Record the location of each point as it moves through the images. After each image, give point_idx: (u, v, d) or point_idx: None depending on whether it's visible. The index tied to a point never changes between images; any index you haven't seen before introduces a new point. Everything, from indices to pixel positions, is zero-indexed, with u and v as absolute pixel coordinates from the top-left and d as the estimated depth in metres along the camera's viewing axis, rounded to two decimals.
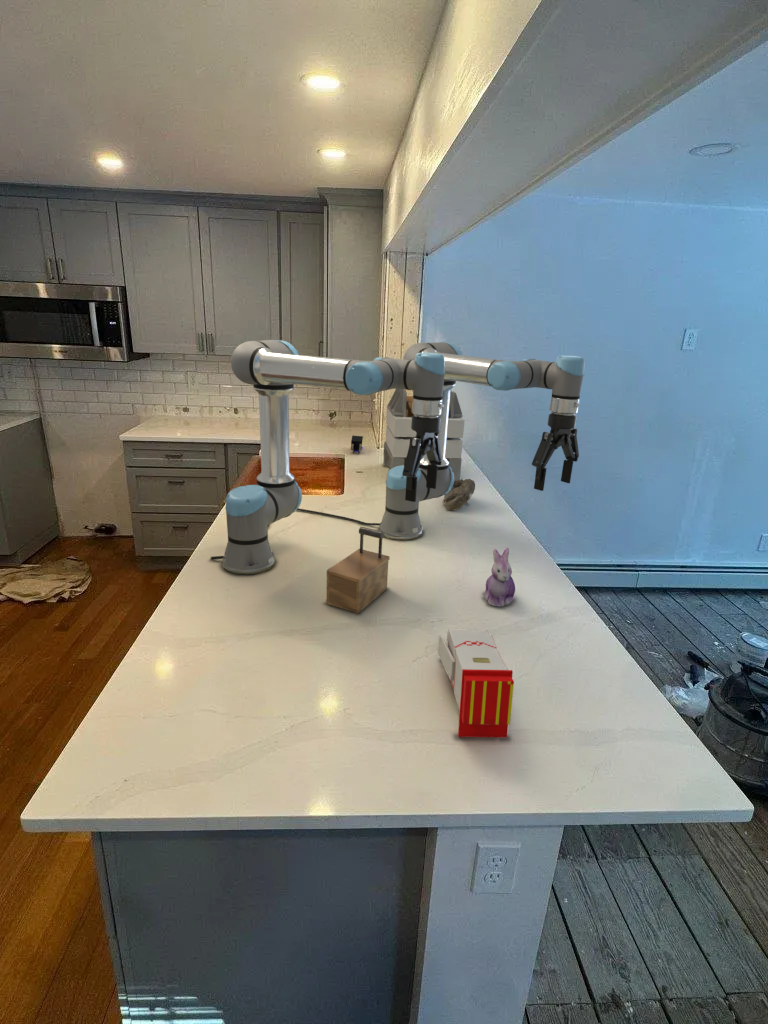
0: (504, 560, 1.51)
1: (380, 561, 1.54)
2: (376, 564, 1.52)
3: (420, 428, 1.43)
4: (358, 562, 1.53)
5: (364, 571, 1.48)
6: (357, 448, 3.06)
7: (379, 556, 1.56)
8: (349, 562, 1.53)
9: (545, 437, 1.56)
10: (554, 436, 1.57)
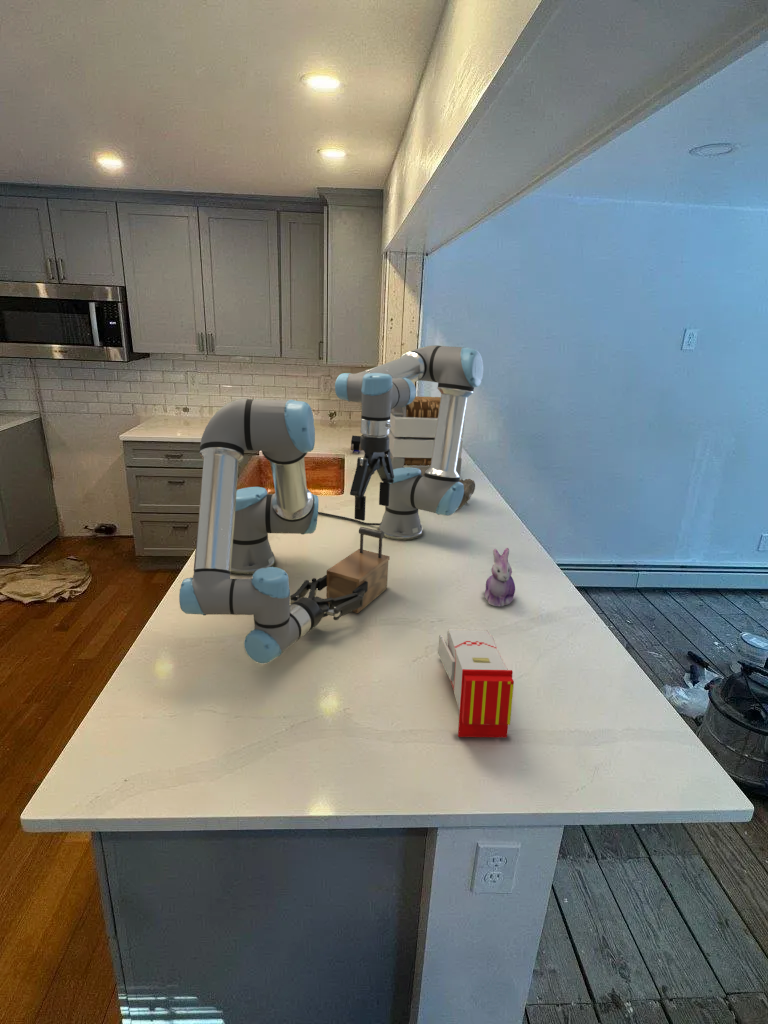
0: (504, 560, 1.51)
1: (380, 561, 1.54)
2: (376, 564, 1.52)
3: None
4: (358, 562, 1.53)
5: (364, 571, 1.48)
6: (357, 448, 3.06)
7: (379, 556, 1.56)
8: (349, 562, 1.53)
9: (360, 463, 1.43)
10: (369, 461, 1.45)
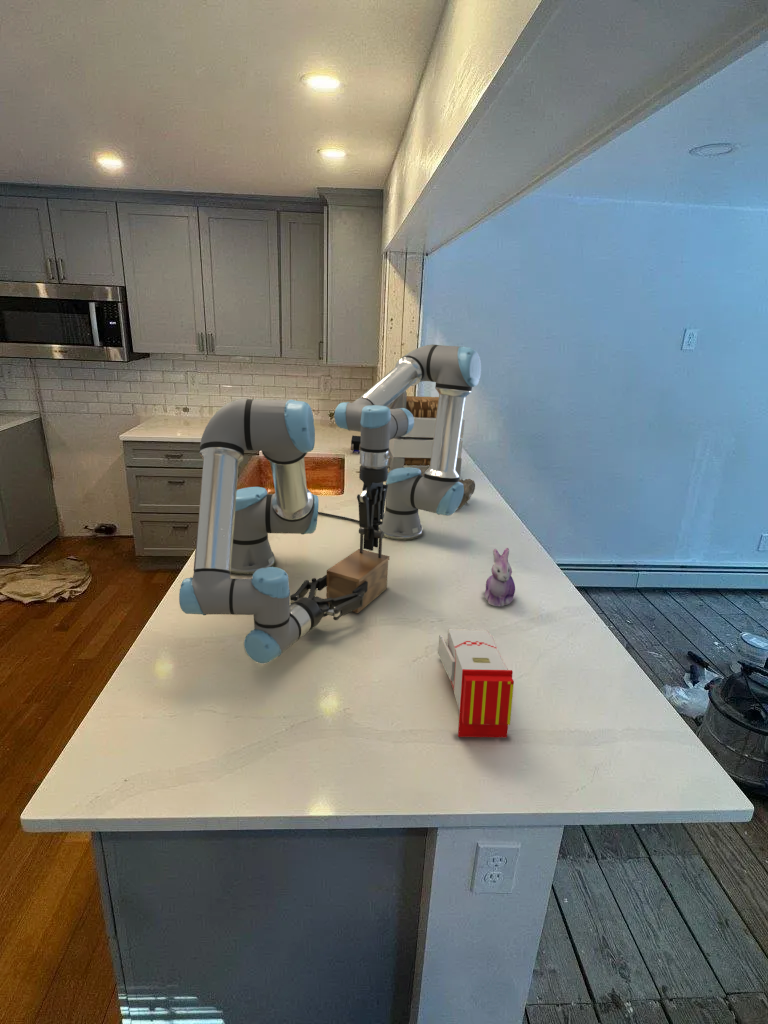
0: (504, 560, 1.51)
1: (380, 561, 1.54)
2: (376, 564, 1.52)
3: None
4: (358, 562, 1.53)
5: (364, 571, 1.48)
6: (357, 448, 3.06)
7: (379, 556, 1.56)
8: (349, 562, 1.53)
9: (361, 501, 1.47)
10: (368, 491, 1.48)
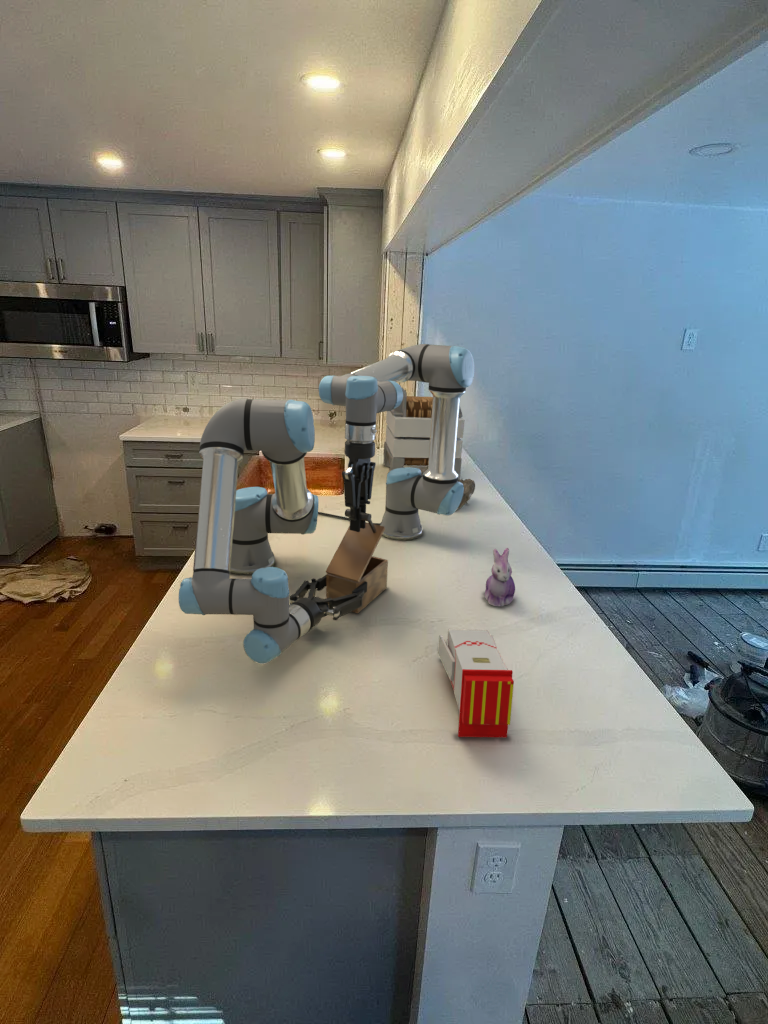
0: (504, 560, 1.51)
1: (375, 539, 1.49)
2: (372, 546, 1.48)
3: None
4: (354, 547, 1.49)
5: (361, 563, 1.46)
6: None
7: (373, 531, 1.50)
8: (346, 549, 1.50)
9: (346, 478, 1.38)
10: (354, 468, 1.38)
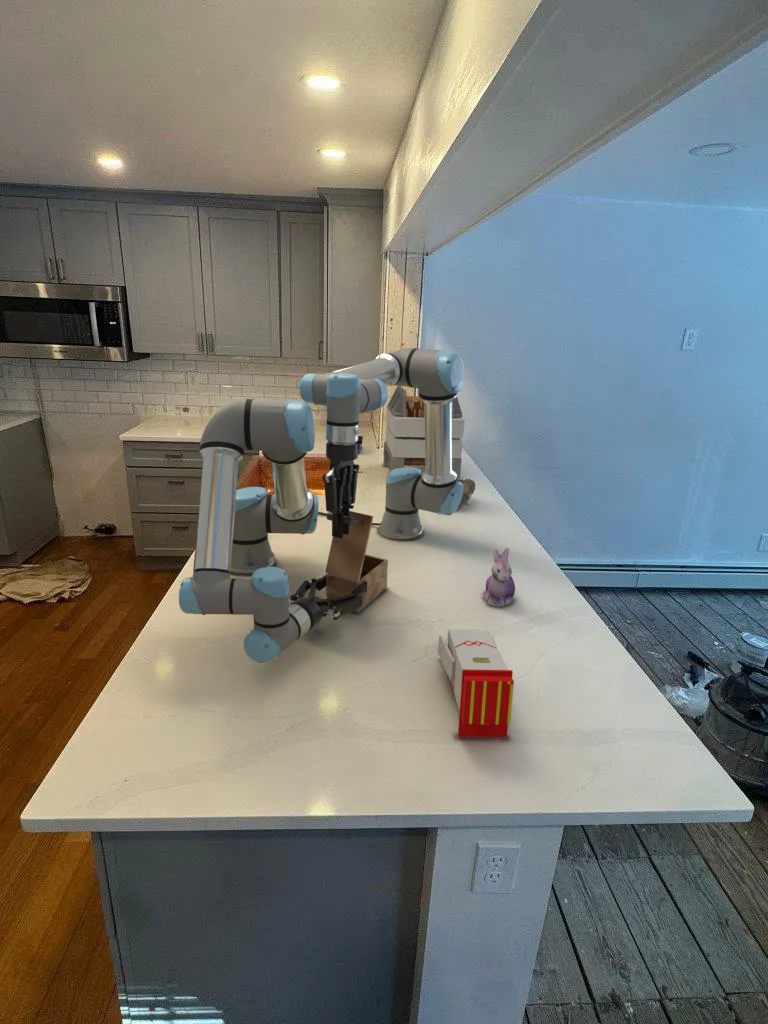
0: (504, 560, 1.51)
1: (366, 532, 1.43)
2: (364, 541, 1.43)
3: None
4: (347, 543, 1.45)
5: (357, 562, 1.44)
6: None
7: (362, 524, 1.43)
8: (339, 546, 1.46)
9: (327, 481, 1.30)
10: (335, 471, 1.31)
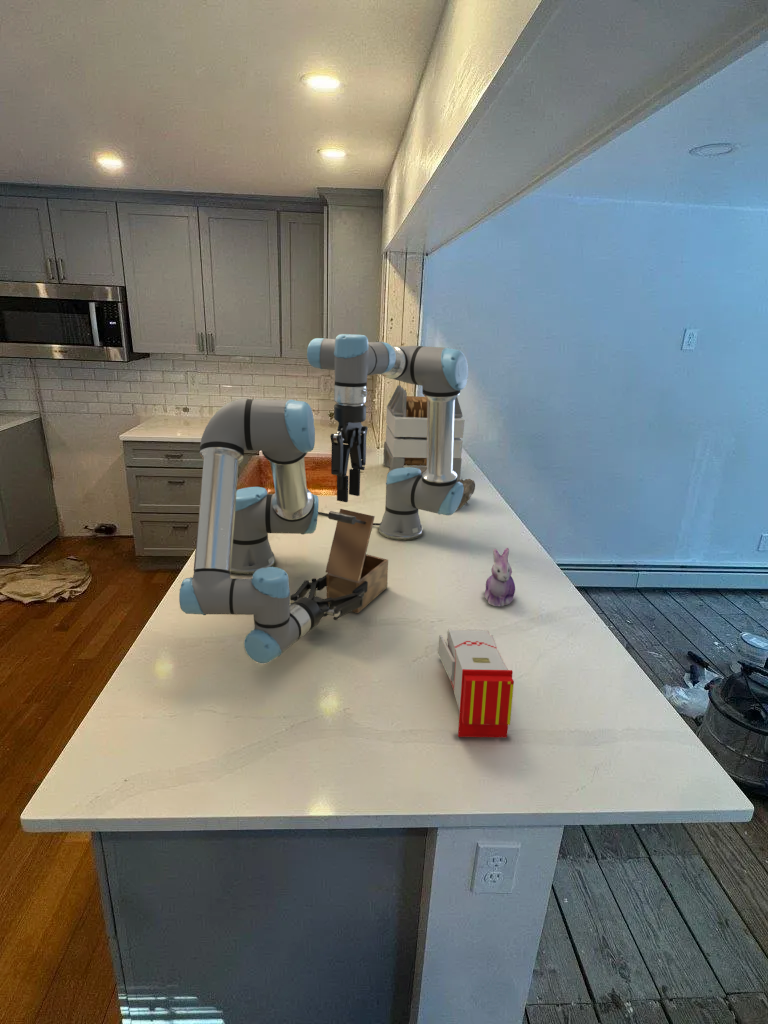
0: (504, 560, 1.51)
1: (367, 532, 1.44)
2: (365, 541, 1.44)
3: None
4: (347, 543, 1.46)
5: (358, 561, 1.44)
6: None
7: (363, 524, 1.44)
8: (340, 546, 1.46)
9: (335, 441, 1.30)
10: (344, 432, 1.31)
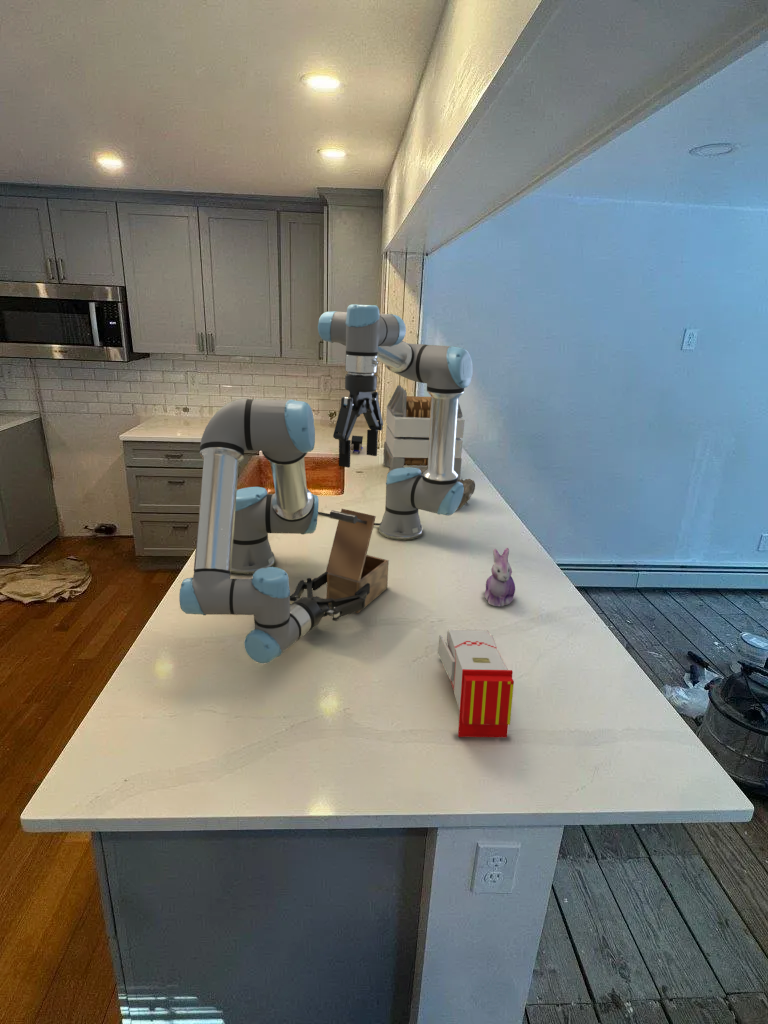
0: (504, 560, 1.51)
1: (368, 532, 1.44)
2: (366, 541, 1.44)
3: None
4: (348, 542, 1.46)
5: (358, 561, 1.44)
6: (357, 448, 3.06)
7: (364, 523, 1.45)
8: (341, 545, 1.47)
9: (345, 403, 1.31)
10: (355, 401, 1.33)
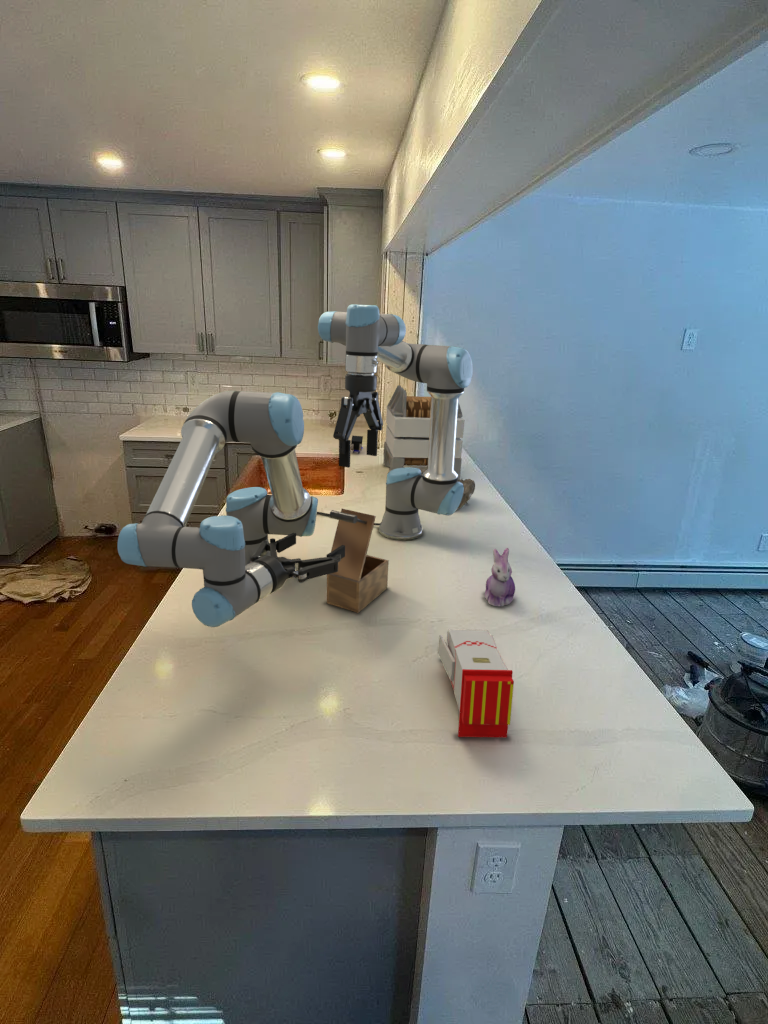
0: (504, 560, 1.51)
1: (368, 532, 1.44)
2: (366, 540, 1.44)
3: None
4: (348, 542, 1.46)
5: (358, 561, 1.44)
6: (357, 448, 3.06)
7: (364, 523, 1.45)
8: None
9: (345, 403, 1.31)
10: (355, 401, 1.33)
